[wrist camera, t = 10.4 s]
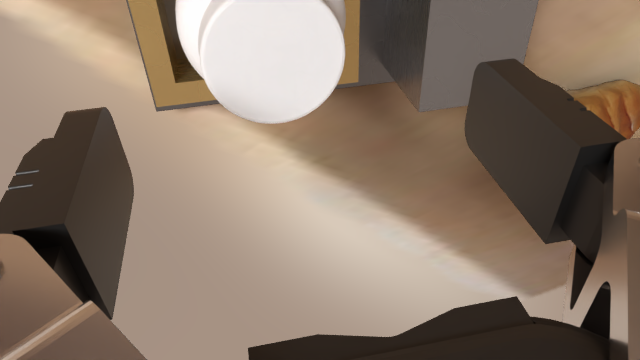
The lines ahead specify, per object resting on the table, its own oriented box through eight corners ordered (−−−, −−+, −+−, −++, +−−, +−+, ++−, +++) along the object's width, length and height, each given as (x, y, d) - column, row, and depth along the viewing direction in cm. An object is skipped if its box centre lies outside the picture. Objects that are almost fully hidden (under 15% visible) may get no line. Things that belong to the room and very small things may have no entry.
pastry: (621, 45, 29) (671, 72, 26) (633, 121, 33) (677, 152, 30) (483, 129, 31) (515, 162, 28) (511, 191, 35) (541, 227, 32)
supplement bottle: (308, 28, 23) (367, 135, 15) (191, 37, 22) (190, 156, 14) (306, -105, 19) (378, -53, 12) (168, -100, 18) (150, -41, 11)
